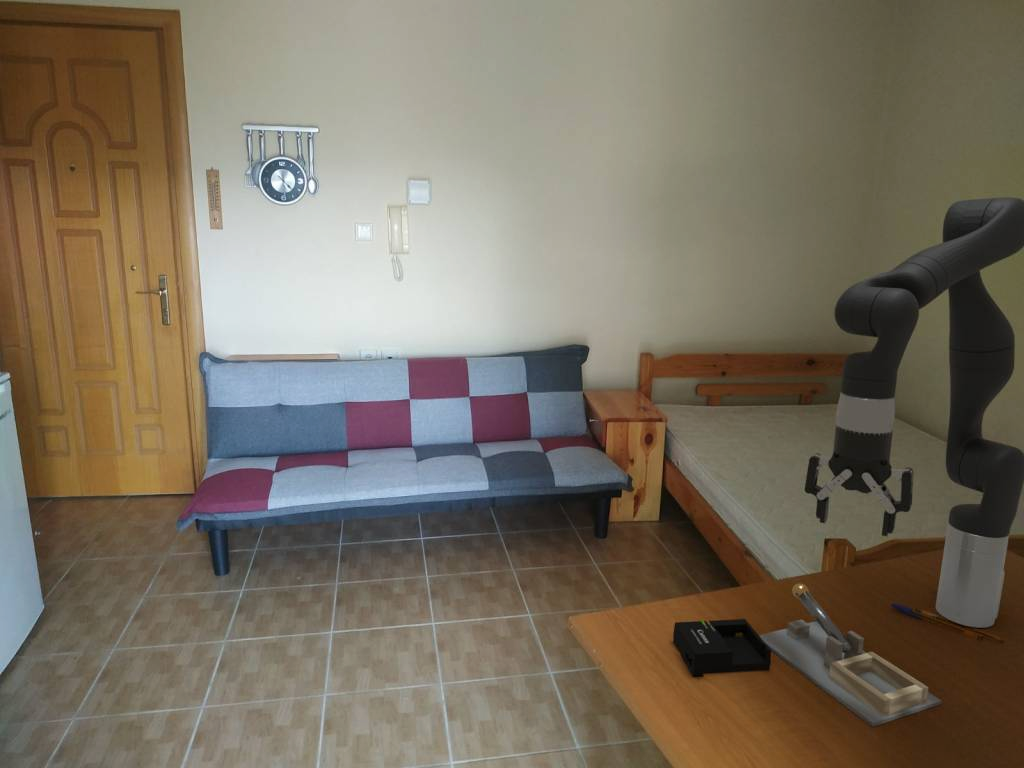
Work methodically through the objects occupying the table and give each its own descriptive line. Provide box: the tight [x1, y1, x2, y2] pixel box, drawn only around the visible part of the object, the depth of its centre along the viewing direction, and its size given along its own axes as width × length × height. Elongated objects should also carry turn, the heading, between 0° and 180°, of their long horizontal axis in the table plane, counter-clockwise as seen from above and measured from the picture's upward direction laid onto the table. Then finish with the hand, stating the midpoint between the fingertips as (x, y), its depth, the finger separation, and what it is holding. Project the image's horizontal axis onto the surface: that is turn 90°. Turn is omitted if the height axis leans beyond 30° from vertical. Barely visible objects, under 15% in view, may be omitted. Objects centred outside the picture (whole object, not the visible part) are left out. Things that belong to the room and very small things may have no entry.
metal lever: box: [791, 583, 851, 653], centre depth 116 cm, size 3×13×3 cm, turn 22°
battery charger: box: [672, 618, 772, 677], centre depth 115 cm, size 13×10×4 cm
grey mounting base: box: [758, 619, 942, 728], centre depth 112 cm, size 14×24×6 cm, turn 22°
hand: (853, 527), depth 105 cm, fingers open, 8 cm apart
